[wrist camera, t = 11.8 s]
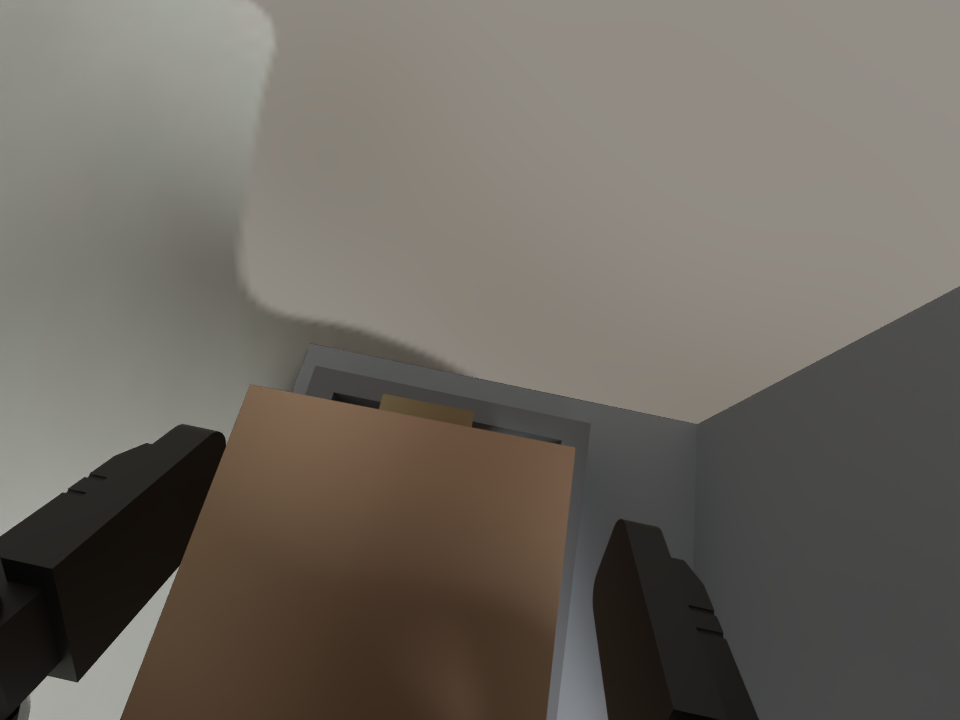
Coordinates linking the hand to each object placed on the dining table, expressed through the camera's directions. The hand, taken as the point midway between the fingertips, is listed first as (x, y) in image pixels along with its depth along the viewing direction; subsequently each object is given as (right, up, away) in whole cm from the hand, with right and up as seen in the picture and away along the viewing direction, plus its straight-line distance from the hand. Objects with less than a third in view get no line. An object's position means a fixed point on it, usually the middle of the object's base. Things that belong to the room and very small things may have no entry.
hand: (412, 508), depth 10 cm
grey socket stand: (+2, -4, +6) cm, 7 cm away
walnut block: (-1, -3, +5) cm, 6 cm away
